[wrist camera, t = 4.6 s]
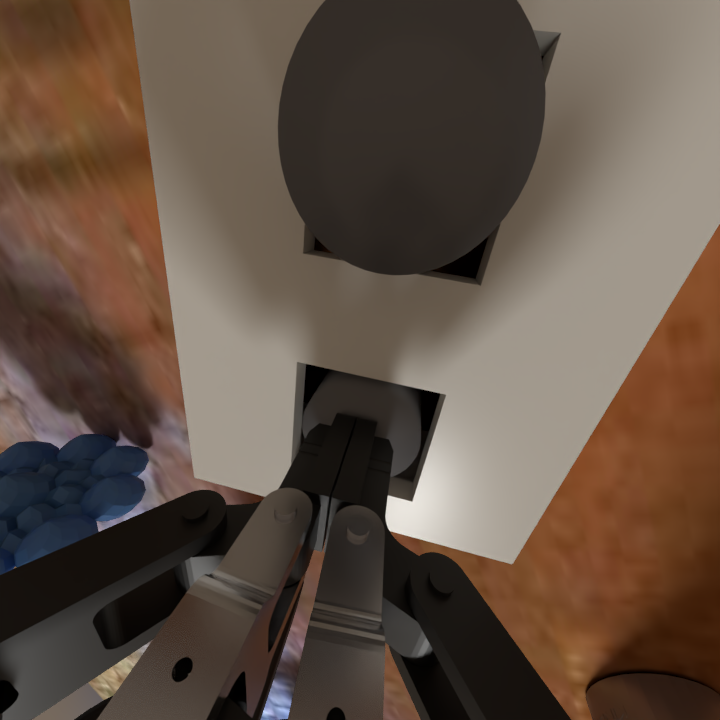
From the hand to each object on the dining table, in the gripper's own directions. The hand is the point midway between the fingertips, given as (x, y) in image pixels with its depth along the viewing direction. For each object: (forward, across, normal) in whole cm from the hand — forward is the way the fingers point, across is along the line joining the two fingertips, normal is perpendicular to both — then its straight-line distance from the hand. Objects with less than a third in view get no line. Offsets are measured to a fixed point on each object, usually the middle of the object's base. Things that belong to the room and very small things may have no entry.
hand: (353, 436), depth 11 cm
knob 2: (+5, 0, 0) cm, 5 cm away
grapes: (+6, +19, +12) cm, 23 cm away
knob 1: (+2, 0, -9) cm, 9 cm away
